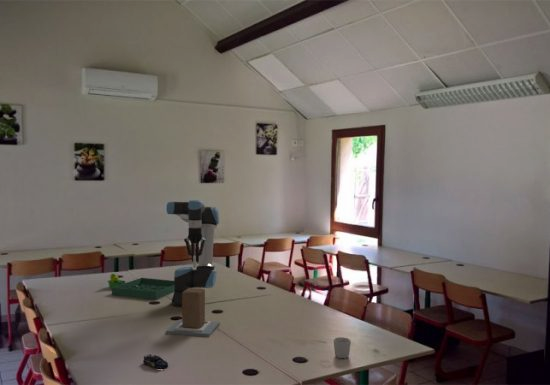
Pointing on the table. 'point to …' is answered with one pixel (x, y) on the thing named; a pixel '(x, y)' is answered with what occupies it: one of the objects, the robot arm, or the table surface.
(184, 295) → the wooden block
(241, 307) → the table surface
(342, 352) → the cup
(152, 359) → the race car
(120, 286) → the maze
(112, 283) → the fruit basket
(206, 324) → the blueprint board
